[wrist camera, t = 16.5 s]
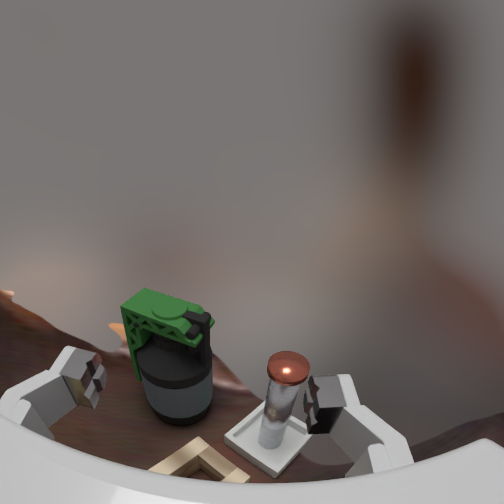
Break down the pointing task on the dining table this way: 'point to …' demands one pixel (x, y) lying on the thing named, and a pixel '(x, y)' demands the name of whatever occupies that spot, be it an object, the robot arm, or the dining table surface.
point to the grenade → (170, 354)
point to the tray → (267, 460)
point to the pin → (281, 395)
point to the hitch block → (200, 463)
